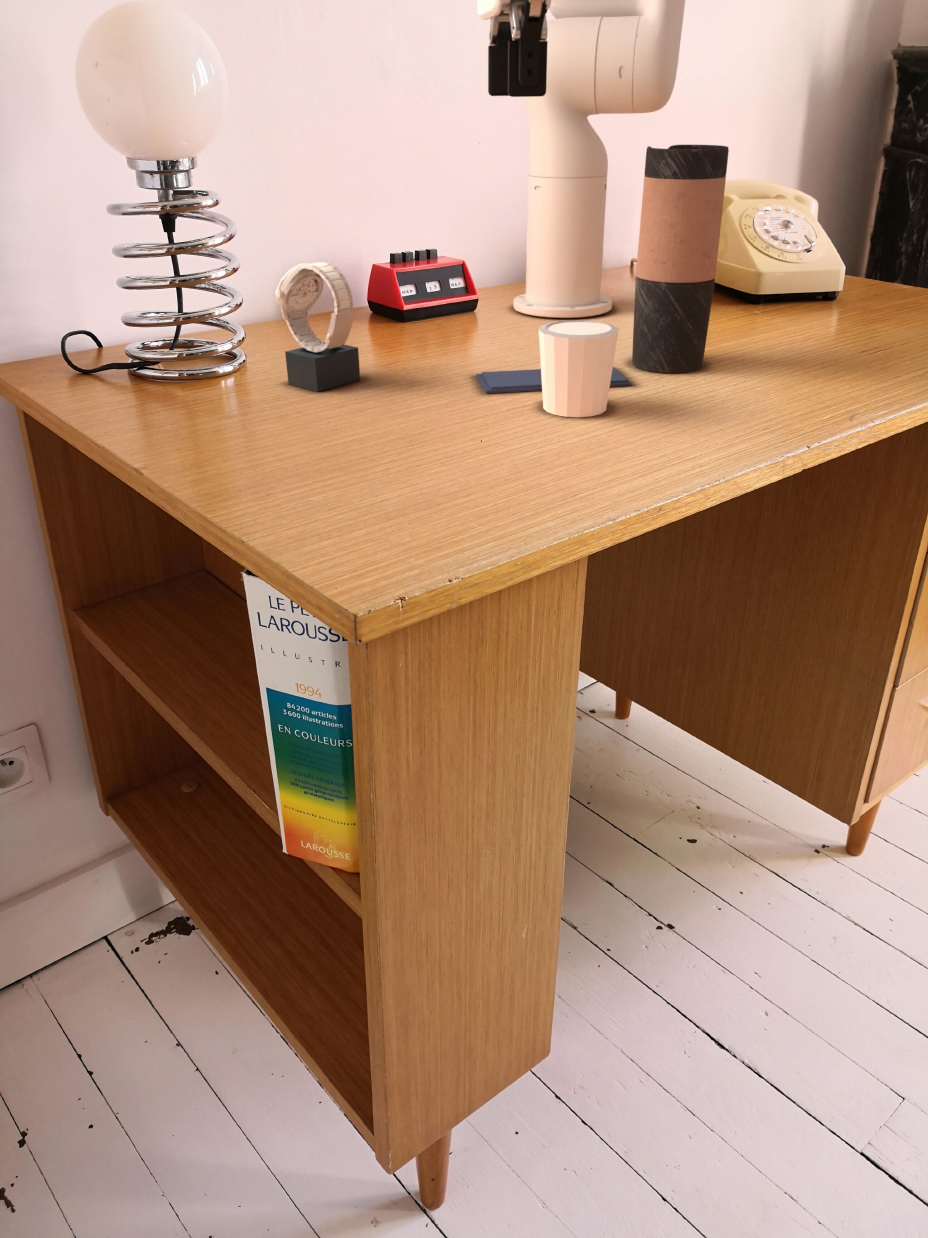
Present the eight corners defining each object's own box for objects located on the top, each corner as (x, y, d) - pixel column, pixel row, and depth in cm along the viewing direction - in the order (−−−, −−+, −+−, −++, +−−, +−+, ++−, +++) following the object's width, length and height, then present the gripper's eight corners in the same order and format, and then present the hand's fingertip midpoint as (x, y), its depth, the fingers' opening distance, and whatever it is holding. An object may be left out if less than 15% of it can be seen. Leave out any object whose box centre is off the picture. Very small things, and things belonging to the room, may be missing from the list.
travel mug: (705, 375, 93) (732, 148, 83) (627, 372, 95) (644, 148, 85) (704, 356, 100) (728, 144, 90) (631, 353, 101) (647, 144, 91)
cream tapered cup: (583, 424, 80) (587, 340, 77) (520, 408, 84) (522, 328, 81) (628, 406, 85) (635, 326, 81) (567, 392, 89) (570, 315, 85)
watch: (318, 368, 97) (308, 255, 92) (372, 382, 92) (365, 263, 87) (274, 380, 93) (262, 262, 88) (329, 395, 89) (319, 271, 83)
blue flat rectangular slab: (476, 376, 94) (476, 371, 94) (613, 369, 96) (613, 364, 95) (486, 393, 89) (486, 387, 88) (630, 385, 90) (631, 380, 90)
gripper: (457, -129, 83) (460, 95, 91) (491, -176, 68) (490, 97, 76) (541, -127, 84) (536, 94, 92) (593, -174, 69) (581, 95, 77)
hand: (515, 95), depth 84 cm, fingers open, 9 cm apart
